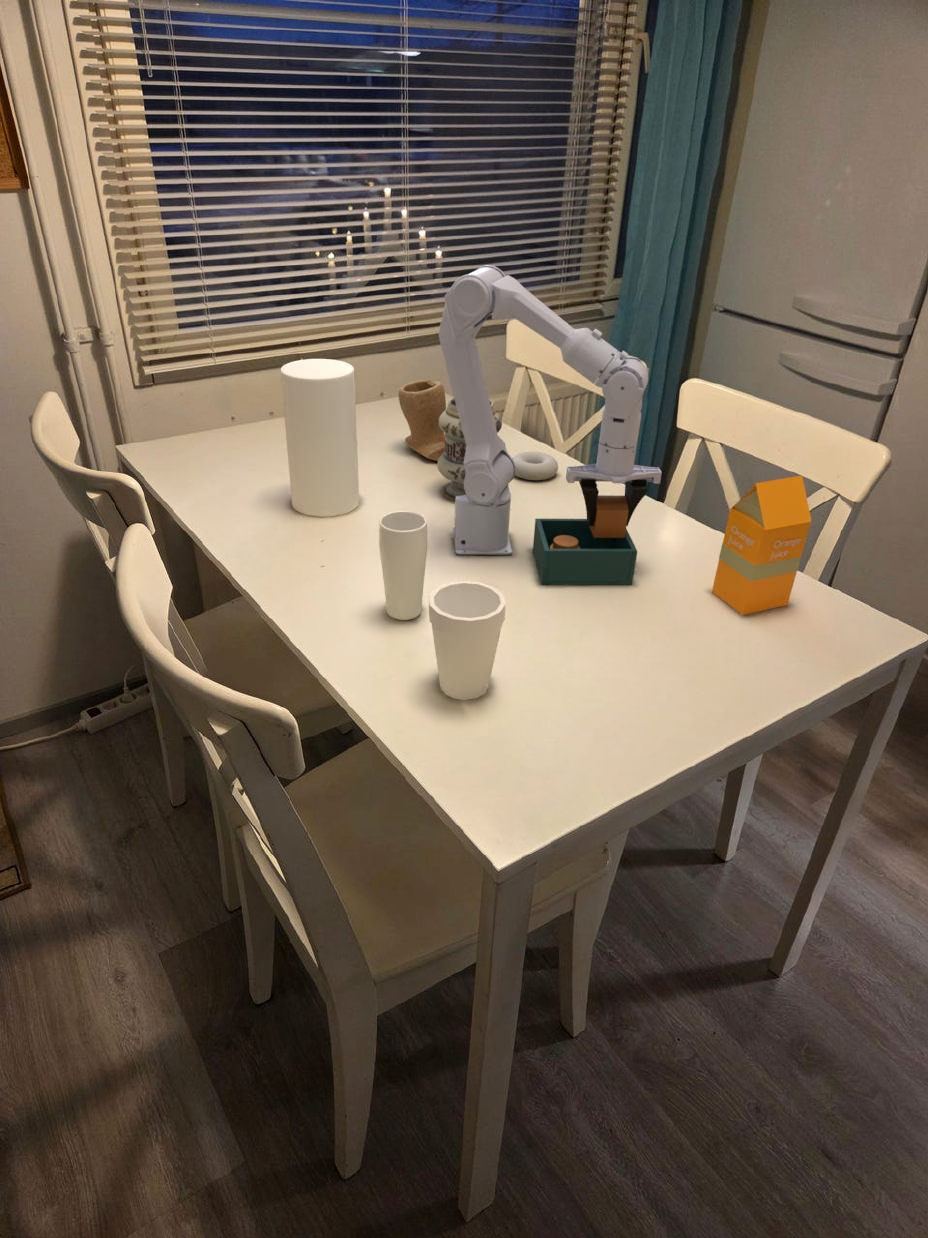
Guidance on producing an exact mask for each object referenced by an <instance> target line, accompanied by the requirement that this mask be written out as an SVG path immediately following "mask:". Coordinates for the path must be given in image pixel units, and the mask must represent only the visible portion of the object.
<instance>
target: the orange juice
mask: <svg viewBox="0 0 928 1238" xmlns="http://www.w3.org/2000/svg"><path fill="white" fill-rule="evenodd" d="M810 511H811V510H810V508H809V502H808V498H807V492H806V488H805V482H804V477H803V475H796V476H791V477H790V476H789V477H785V478H779V479H772V480H766V481H759V482H755V484H754V485H753V486H752V487H751V488H750V489H749V490H748V491H747V492H746V493H745V494H744V495H743V496H742V497H741V498H740V499H739V500H738V501H737V502H736V503H735V504H734V505H733V506H732V507H730V509H729V513H728V518H727V522H726V526H725V532H724V535H723V539H722V544H721V548H720V552H719V557H718V561H717V562H718V563H717V567H716V571H715V575H714V579H713V584H712V589H711V593H713V595H715V596H716V597H718V598H719V599H720V600H722V601H723V602H725V604H727V605H728V606H729V607H731V608H732V609H733V610H735V611H736V612H737V613H738V614H740V615H742V616H746V615H750V614H755V613H760V612H765V611H768V610H772V609H776V608H781V607H784V606H785V607H786V606H788V605H789V601H790V597H791V594H792V590H793V587H794V583H795V579H796V577H797V572H798V570H799V567H800V564H801V560H802V555H803V551H804V548H805V544H806V540H807V538H808V534H809V530H810V527H811V523H812V516H811V512H810Z"/></svg>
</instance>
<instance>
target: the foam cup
mask: <svg viewBox="0 0 928 1238" xmlns="http://www.w3.org/2000/svg"><path fill="white" fill-rule="evenodd" d="M506 605H507V604H506V599H505V595H504V594H503V593H502V592H501V591H500V590H498V589H497V588H496V587H495V586H492V585H489V584H486V583H484V582H480V581H470V580H460V581H450V582H446V583H445V584H444V583H443V584H442V585H440V586H437V587H436V588H434V590H433V591H431V593H430V594H429V596H428V618H429V622H430V624H431V629H432V636H433V643H434V650H435V658H436V665H437V672H438V678H439V680H438V681H439V686H440V690H441V691H442V692H443V693H444V695H446V696H447V697H450V698H452V699H455V700H463V701H468V700H475V699H477V698H479V697H481V696H483V695H485V694H486V692H487V690H488V689H489V685H490V680H491V677H492V672H493V667H494V664H495V659H496V655H497V654H496V653H497V649H498V644H499V641H500V636H501V630H502V627H503V623H504V622H505V619H506Z"/></svg>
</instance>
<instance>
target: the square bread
mask: <svg viewBox="0 0 928 1238" xmlns="http://www.w3.org/2000/svg"><path fill="white" fill-rule="evenodd" d="M628 512H629V510H628V501H627V497H626V496H625V495H605V494H603V495H601V494H600V495H599V494H598V497H597V501H596V506H595V517H594V524H593V526H589V527H590V529H591V532H592V534H593V537H594V538H625V532H626V529H627V526H626V525H627V519H628Z"/></svg>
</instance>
